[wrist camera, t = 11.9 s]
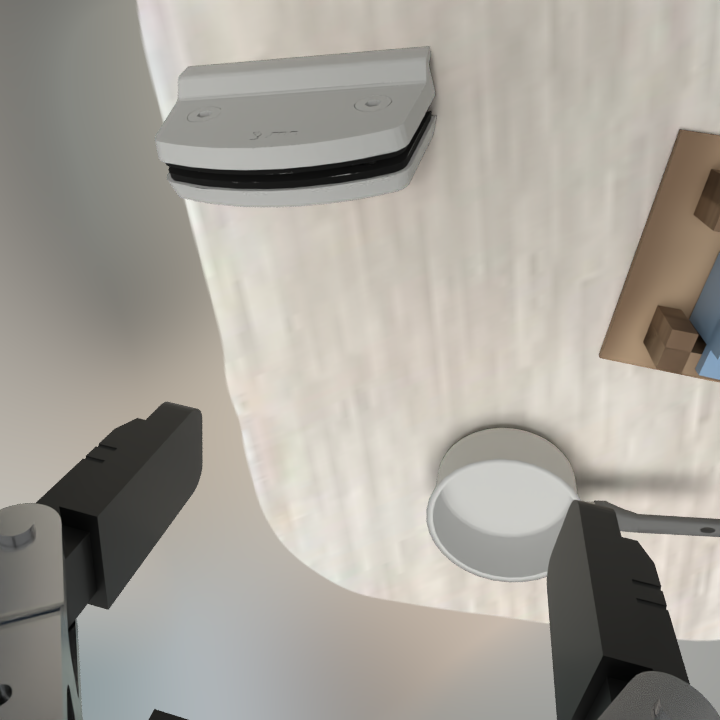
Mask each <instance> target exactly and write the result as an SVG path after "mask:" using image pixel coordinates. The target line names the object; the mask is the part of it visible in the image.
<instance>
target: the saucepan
mask: <svg viewBox="0 0 720 720" xmlns="http://www.w3.org/2000/svg"><path fill="white" fill-rule="evenodd" d="M573 500H579V501H581V499H580V498H579V496H578V493H577V487H576V481H575V475H574V472H573V470H572V467H571V465H570V463H569V461H568V460H567V458H566V457H565V456H564V454H563V453H562V452H561V451H560V450H559V449H558V448H557V447H556V446H555V445H553V444H552V443H550V442H549V441H547V440H546V439H544V438H543V437H540V436H538V435H535V434H533V433H531V432H527V431H523V430H519V429H512V428H494V429H486V430H482V431H479V432H475V433H473V434H470V435H468V436H466V437H464V438H462V439H461V440H460V441H458V442H457V443H456V444H454V445H453V446H452V447H451V448H450V449H449V451H448V452H447V453H446V454H445V456H444V458H443V460H442V462H441V464H440V468H439V472H438V477H437V483H436V488H435V489H434V491H433V493H432V495H431V497H430V498H429V502H428V506H427V525H428V529H429V533H430V535H431V537H432V539H433V541H434V543H435V544H436V546H437V547H438V548H439V549H440V551H441V552H442V553H443V554H444V555H445V556H446V557H447V558H448V559H449V560H450V561H452V562H453V563H454V564H456V565H457V566H459V567H460V568H462V569H464V570H465V571H468V572H470V573H472V574H474V575H477V576H479V577H483V578H487V579H490V580H495V581H503V582H526V581H532V580H538V579H541V578H544V577H547V572H548V565H549V560H550V557H551V553H552V551H553V548H554V545H555V543H556V540H557V538H558V535H559V532H560V530H561V527H562V525H563V522H564V519H565V517H566V514H567V512H568V509H569V507H570V505H571V503H572V501H573ZM588 503H592V504H596V505H600V506H605V507H609V508H613V509H614V511H615V513H616V516H617V521H618V525H619V529H620V531H625V532H637V533H655V534H674V535H692V536H711V537H720V519H709V518H693V517H677V516H660V515H644V514H636V513H634V512H631V511H628V510H625V509H622V508H620V507H617V506H615V505H613V504H611V503H608V502H607V501H594V502H588Z"/></svg>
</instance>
